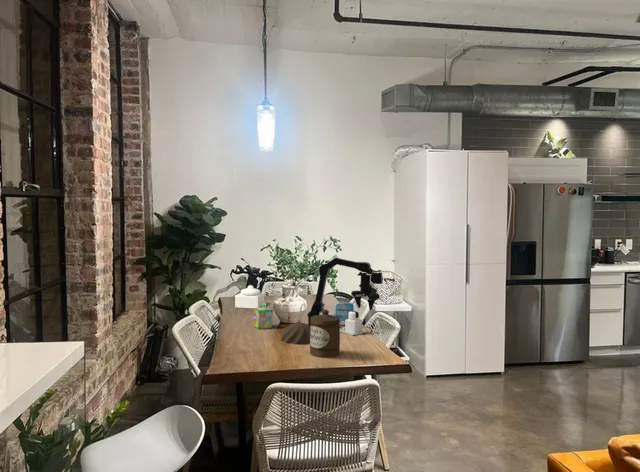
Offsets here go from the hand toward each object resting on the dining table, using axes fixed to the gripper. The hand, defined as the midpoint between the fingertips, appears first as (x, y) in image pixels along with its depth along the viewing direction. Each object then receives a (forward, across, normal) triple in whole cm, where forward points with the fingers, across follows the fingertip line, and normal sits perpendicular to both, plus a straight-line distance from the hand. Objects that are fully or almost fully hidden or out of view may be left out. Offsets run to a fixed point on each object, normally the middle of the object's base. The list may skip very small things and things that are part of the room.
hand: (364, 309), depth 296 cm
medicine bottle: (+13, 0, +9) cm, 16 cm away
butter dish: (+13, +109, +12) cm, 110 cm away
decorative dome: (+13, +6, +46) cm, 48 cm away
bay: (+13, +13, +4) cm, 19 cm away
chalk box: (+13, +43, +45) cm, 63 cm away
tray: (+13, 0, +9) cm, 16 cm away
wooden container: (+13, -23, +52) cm, 59 cm away
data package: (+13, +27, -8) cm, 32 cm away
